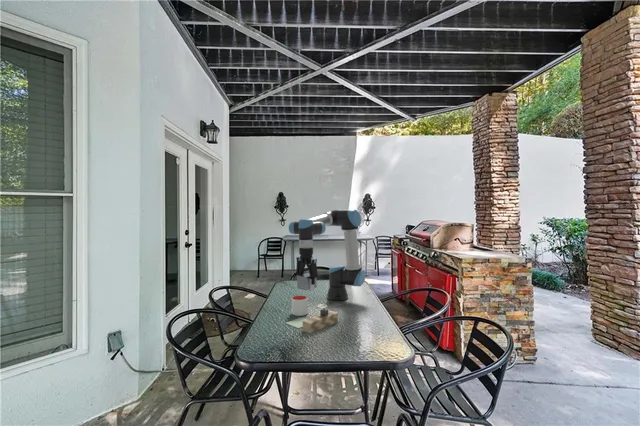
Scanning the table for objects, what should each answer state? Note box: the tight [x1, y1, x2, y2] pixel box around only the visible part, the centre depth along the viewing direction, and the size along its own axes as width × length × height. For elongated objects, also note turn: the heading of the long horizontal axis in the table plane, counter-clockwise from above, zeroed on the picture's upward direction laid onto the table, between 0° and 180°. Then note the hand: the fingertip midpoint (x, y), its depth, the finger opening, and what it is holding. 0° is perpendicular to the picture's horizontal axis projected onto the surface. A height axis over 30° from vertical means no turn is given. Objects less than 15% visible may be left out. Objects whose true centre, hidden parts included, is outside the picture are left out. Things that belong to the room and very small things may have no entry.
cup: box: [290, 295, 309, 317], centre depth 180 cm, size 10×10×10 cm
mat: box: [285, 316, 308, 330], centre depth 165 cm, size 12×11×1 cm
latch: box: [319, 307, 329, 316], centre depth 162 cm, size 3×3×4 cm
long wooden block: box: [302, 310, 339, 334], centre depth 160 cm, size 22×6×5 cm, turn 136°
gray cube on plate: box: [296, 272, 318, 291], centre depth 160 cm, size 8×7×7 cm
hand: (306, 289), depth 160 cm, fingers closed on gray cube on plate, 7 cm apart
